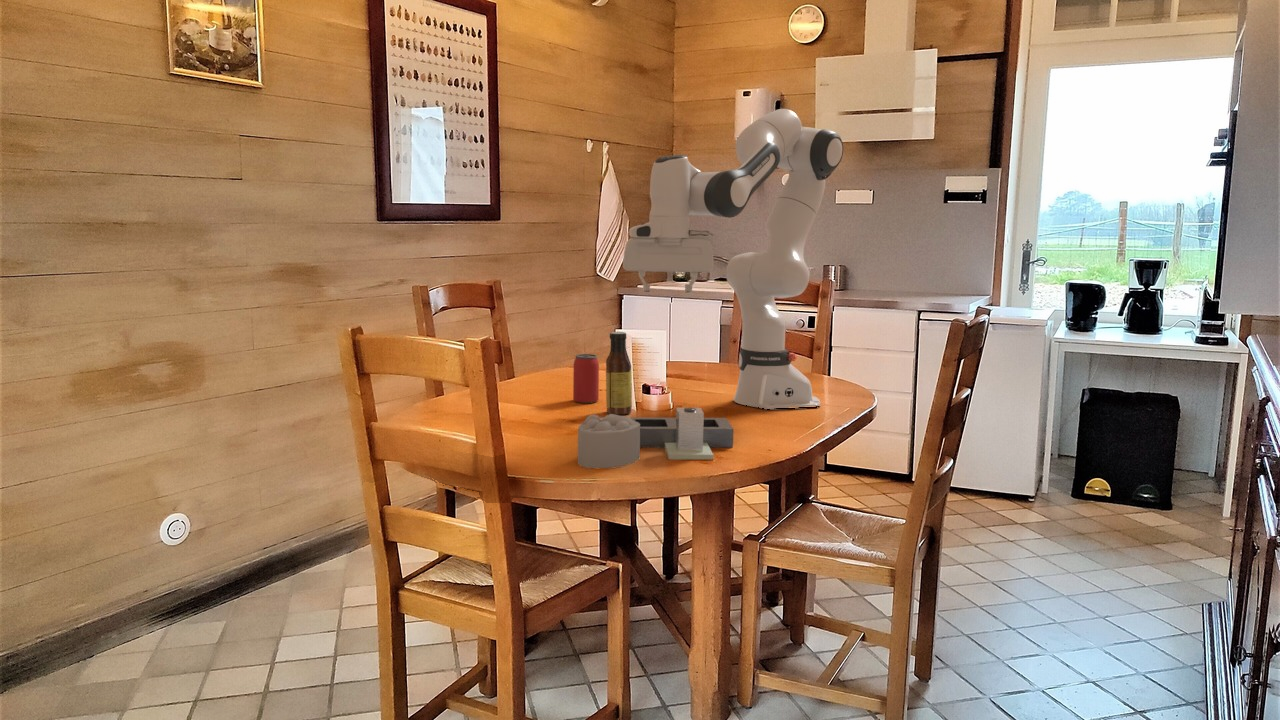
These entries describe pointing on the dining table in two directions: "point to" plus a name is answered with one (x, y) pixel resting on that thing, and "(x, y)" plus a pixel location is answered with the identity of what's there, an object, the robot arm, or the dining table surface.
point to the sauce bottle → (618, 376)
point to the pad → (674, 453)
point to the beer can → (586, 378)
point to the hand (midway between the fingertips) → (667, 292)
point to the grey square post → (689, 429)
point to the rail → (664, 431)
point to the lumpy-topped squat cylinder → (608, 441)
